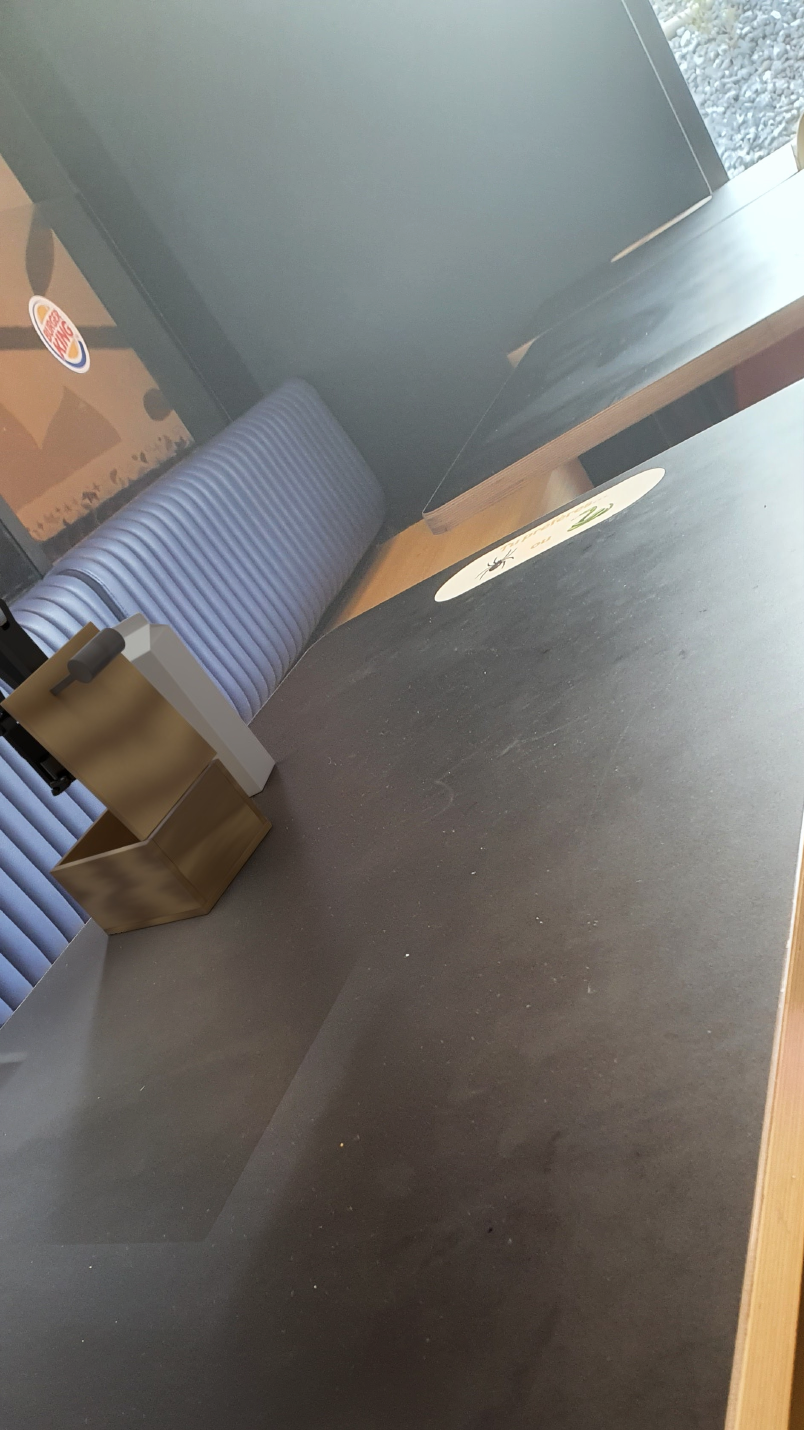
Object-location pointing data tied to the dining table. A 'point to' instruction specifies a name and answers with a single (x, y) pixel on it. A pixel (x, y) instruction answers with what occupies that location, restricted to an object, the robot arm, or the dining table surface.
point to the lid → (111, 728)
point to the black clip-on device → (57, 773)
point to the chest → (165, 857)
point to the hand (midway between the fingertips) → (79, 772)
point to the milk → (196, 699)
